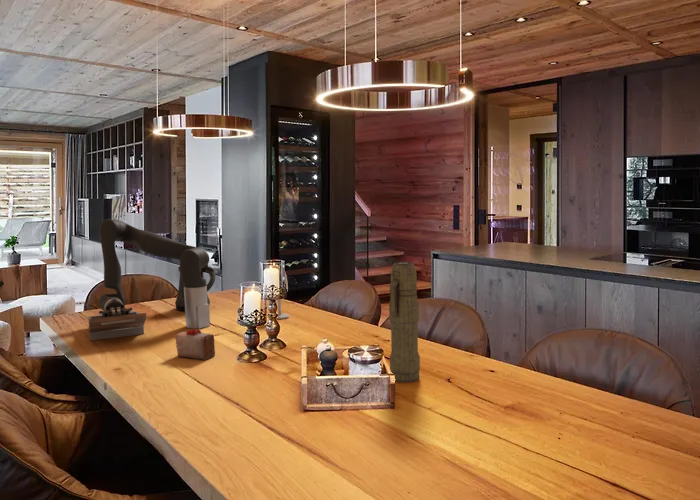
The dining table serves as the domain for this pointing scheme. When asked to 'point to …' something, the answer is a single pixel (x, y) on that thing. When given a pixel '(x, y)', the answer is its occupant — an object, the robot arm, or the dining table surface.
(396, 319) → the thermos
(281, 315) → the wineglass
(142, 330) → the tray
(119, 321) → the panel
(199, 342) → the food item
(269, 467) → the dining table surface
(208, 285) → the beer stein
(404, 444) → the dining table surface
